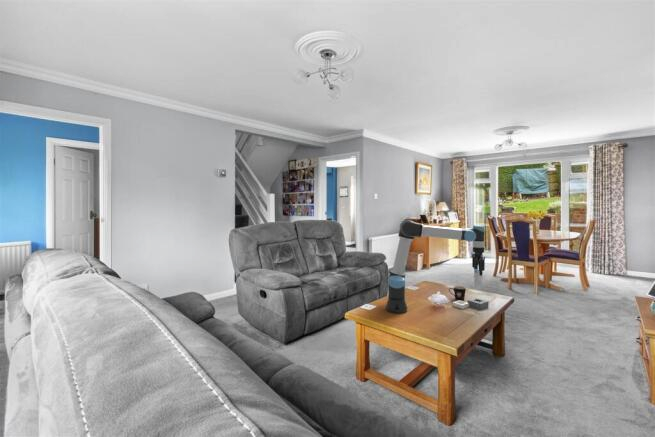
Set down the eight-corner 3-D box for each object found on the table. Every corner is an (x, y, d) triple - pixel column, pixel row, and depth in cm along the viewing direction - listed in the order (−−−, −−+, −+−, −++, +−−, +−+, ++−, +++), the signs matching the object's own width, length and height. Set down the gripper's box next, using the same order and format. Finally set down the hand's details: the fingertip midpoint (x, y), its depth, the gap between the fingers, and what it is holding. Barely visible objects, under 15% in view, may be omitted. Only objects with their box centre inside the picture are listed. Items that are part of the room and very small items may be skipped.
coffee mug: (467, 300, 244) (468, 287, 243) (461, 302, 239) (461, 289, 238) (454, 296, 253) (454, 284, 253) (447, 298, 248) (448, 286, 248)
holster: (452, 306, 229) (452, 302, 229) (459, 304, 234) (459, 300, 234) (462, 310, 223) (462, 305, 223) (469, 307, 227) (469, 303, 227)
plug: (474, 284, 227) (474, 270, 227) (477, 283, 229) (477, 269, 229) (479, 285, 224) (479, 271, 224) (481, 284, 226) (482, 270, 226)
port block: (467, 306, 229) (467, 299, 229) (475, 304, 235) (475, 297, 234) (480, 310, 221) (480, 303, 221) (488, 308, 226) (488, 301, 226)
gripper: (490, 248, 216) (490, 281, 218) (476, 244, 234) (476, 275, 236) (480, 248, 216) (479, 282, 217) (467, 245, 234) (466, 275, 235)
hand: (478, 278), depth 227 cm, fingers closed on plug, 5 cm apart
